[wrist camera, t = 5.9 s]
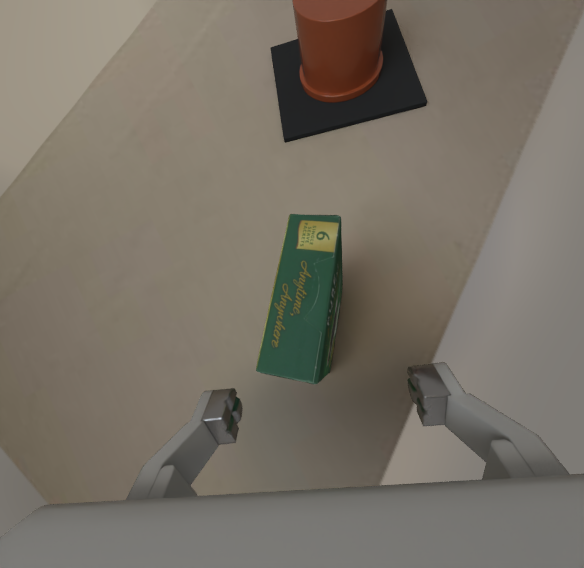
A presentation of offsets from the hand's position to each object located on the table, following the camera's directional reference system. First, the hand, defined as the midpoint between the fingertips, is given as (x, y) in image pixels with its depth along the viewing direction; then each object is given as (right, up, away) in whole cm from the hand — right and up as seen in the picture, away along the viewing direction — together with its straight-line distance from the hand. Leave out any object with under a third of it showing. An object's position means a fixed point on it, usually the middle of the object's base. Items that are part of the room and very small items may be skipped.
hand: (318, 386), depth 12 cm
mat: (+5, +31, +19) cm, 37 cm away
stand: (+5, +31, +19) cm, 36 cm away
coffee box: (+2, +1, +12) cm, 12 cm away
